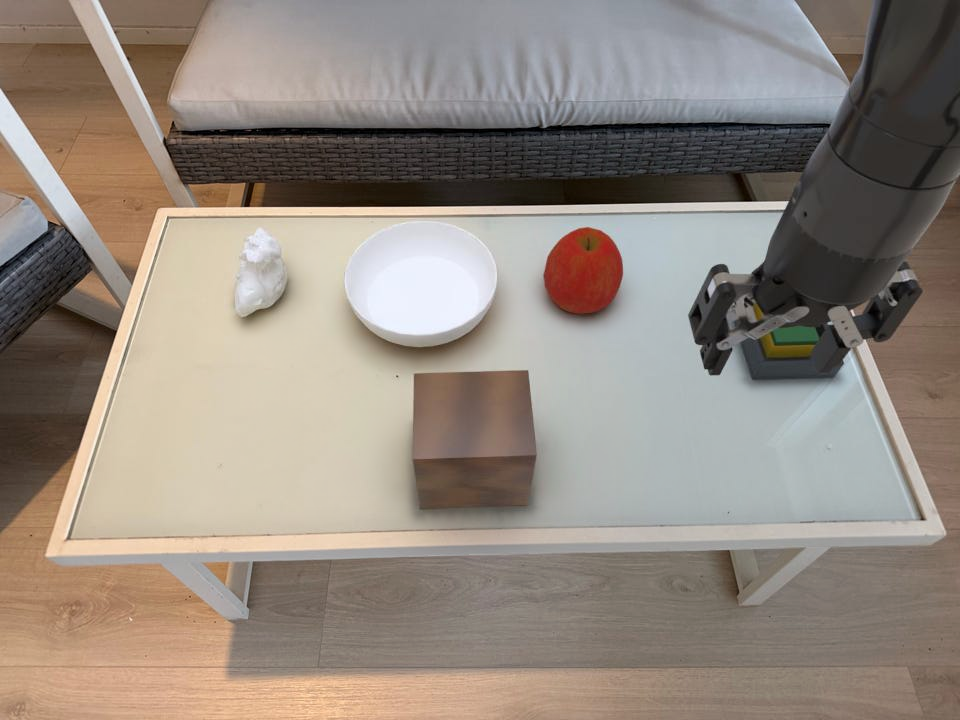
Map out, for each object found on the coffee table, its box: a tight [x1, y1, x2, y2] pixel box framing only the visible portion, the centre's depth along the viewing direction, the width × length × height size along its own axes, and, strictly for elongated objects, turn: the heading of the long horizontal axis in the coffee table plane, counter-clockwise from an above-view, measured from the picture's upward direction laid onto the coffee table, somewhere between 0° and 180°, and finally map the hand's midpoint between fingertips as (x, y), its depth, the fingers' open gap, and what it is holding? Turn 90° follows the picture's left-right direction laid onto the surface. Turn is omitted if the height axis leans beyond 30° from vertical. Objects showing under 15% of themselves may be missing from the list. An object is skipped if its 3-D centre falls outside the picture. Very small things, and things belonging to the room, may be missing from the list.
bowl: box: [343, 220, 499, 348], centre depth 91 cm, size 20×20×6 cm
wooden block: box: [412, 369, 538, 510], centre depth 75 cm, size 12×10×12 cm
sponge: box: [753, 303, 819, 358], centre depth 89 cm, size 8×6×4 cm
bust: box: [234, 227, 288, 318], centre depth 91 cm, size 12×8×11 cm
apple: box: [542, 226, 624, 315], centre depth 91 cm, size 10×10×10 cm
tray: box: [733, 319, 845, 381], centre depth 90 cm, size 13×10×3 cm
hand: (764, 365), depth 55 cm, fingers open, 8 cm apart
